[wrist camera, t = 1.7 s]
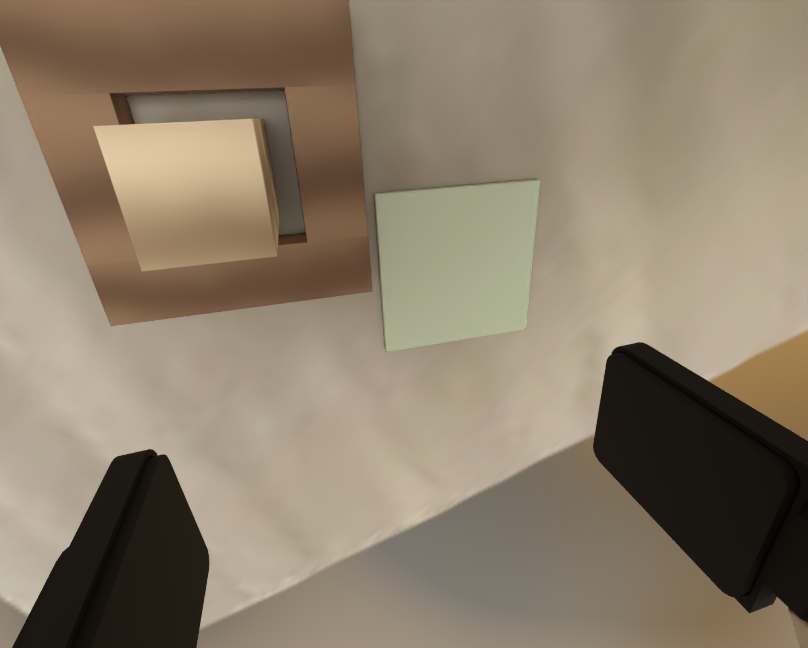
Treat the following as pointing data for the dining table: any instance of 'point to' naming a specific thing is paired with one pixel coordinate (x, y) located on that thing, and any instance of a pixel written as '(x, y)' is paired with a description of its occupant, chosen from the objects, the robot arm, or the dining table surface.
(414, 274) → the pad
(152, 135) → the beech block
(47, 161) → the cradle board
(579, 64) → the dining table surface
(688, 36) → the dining table surface
